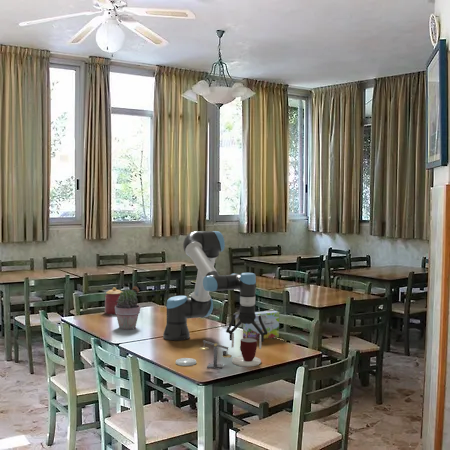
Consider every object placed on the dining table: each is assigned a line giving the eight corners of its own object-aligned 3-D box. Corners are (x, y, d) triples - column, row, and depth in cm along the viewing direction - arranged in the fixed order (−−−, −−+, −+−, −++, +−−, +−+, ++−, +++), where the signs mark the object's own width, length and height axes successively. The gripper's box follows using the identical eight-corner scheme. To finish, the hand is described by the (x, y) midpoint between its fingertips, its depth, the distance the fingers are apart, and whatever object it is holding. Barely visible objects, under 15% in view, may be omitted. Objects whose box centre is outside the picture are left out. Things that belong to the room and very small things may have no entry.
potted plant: (104, 329, 346) (105, 288, 345) (122, 323, 364) (122, 284, 363) (130, 332, 339) (131, 290, 338) (147, 326, 357) (147, 286, 356)
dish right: (230, 365, 275) (230, 363, 275) (233, 357, 289) (233, 355, 289) (259, 367, 273) (259, 364, 273) (261, 359, 287) (261, 356, 287)
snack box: (247, 341, 324) (247, 314, 323) (242, 338, 329) (243, 312, 328) (279, 337, 334) (279, 311, 333) (274, 335, 339) (274, 309, 338)
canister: (101, 314, 392) (101, 288, 392) (108, 310, 405) (108, 285, 404) (119, 314, 390) (120, 289, 389) (126, 311, 403) (126, 286, 402)
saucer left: (173, 365, 275) (173, 363, 274) (177, 359, 284) (177, 357, 284) (194, 366, 273) (194, 364, 273) (197, 360, 283) (197, 358, 283)
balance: (198, 367, 272) (198, 341, 271) (200, 364, 276) (200, 338, 276) (230, 369, 270) (231, 342, 269) (232, 366, 275) (232, 340, 274)
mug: (233, 358, 283) (233, 338, 282) (245, 356, 288) (245, 336, 288) (248, 363, 275) (248, 343, 274) (260, 360, 280) (260, 340, 280)
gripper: (221, 305, 278) (220, 348, 279) (272, 307, 275) (271, 351, 276) (223, 302, 285) (222, 344, 287) (273, 304, 282) (272, 346, 283)
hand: (246, 347), depth 281 cm, fingers open, 13 cm apart
